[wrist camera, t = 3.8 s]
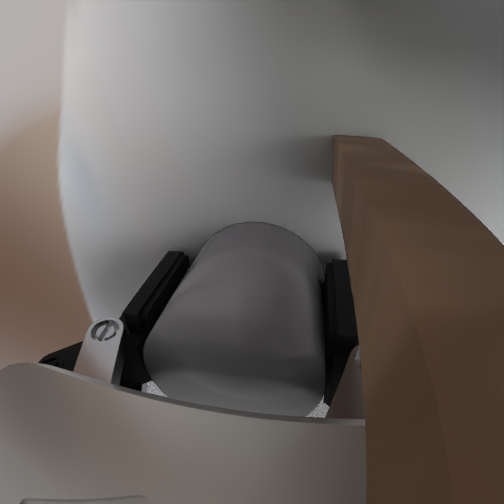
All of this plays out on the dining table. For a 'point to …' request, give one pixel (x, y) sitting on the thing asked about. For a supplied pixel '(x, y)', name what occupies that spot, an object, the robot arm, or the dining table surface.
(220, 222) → the dining table surface
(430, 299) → the frame
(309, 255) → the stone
